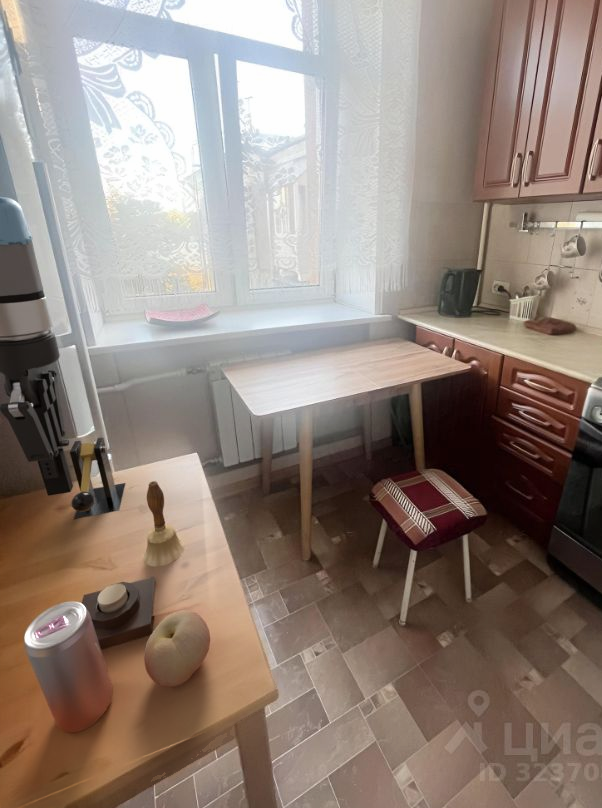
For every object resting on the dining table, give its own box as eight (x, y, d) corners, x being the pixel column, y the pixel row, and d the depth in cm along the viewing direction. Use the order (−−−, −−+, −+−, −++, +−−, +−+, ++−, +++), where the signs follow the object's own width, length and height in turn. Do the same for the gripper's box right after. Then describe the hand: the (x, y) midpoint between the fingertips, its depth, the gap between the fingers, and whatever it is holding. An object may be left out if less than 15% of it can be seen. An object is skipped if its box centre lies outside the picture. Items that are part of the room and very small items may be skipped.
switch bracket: (120, 515, 81) (105, 453, 76) (74, 524, 78) (55, 461, 73) (126, 487, 90) (113, 430, 84) (85, 494, 87) (69, 435, 81)
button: (97, 616, 57) (95, 607, 56) (102, 596, 60) (99, 587, 59) (126, 608, 58) (124, 599, 57) (129, 589, 61) (127, 580, 60)
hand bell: (184, 533, 77) (172, 464, 71) (194, 561, 71) (182, 488, 65) (136, 550, 73) (120, 478, 67) (142, 582, 66) (125, 505, 60)
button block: (72, 659, 54) (65, 639, 53) (86, 604, 62) (80, 586, 61) (152, 634, 58) (148, 615, 57) (156, 586, 66) (153, 568, 64)
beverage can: (52, 706, 49) (18, 622, 44) (106, 671, 53) (81, 590, 47) (62, 748, 45) (25, 662, 40) (120, 708, 49) (94, 624, 44)
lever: (96, 512, 73) (91, 503, 71) (73, 517, 72) (67, 508, 70) (102, 449, 82) (97, 439, 79) (81, 452, 81) (76, 442, 78)
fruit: (142, 662, 54) (132, 621, 51) (201, 628, 59) (194, 589, 56) (158, 713, 49) (148, 671, 46) (221, 671, 54) (215, 630, 51)
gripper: (-1, 322, 52) (43, 470, 61) (-52, 350, 41) (11, 526, 50) (66, 320, 55) (99, 462, 64) (35, 346, 44) (80, 514, 53)
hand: (60, 490), depth 57 cm, fingers closed
